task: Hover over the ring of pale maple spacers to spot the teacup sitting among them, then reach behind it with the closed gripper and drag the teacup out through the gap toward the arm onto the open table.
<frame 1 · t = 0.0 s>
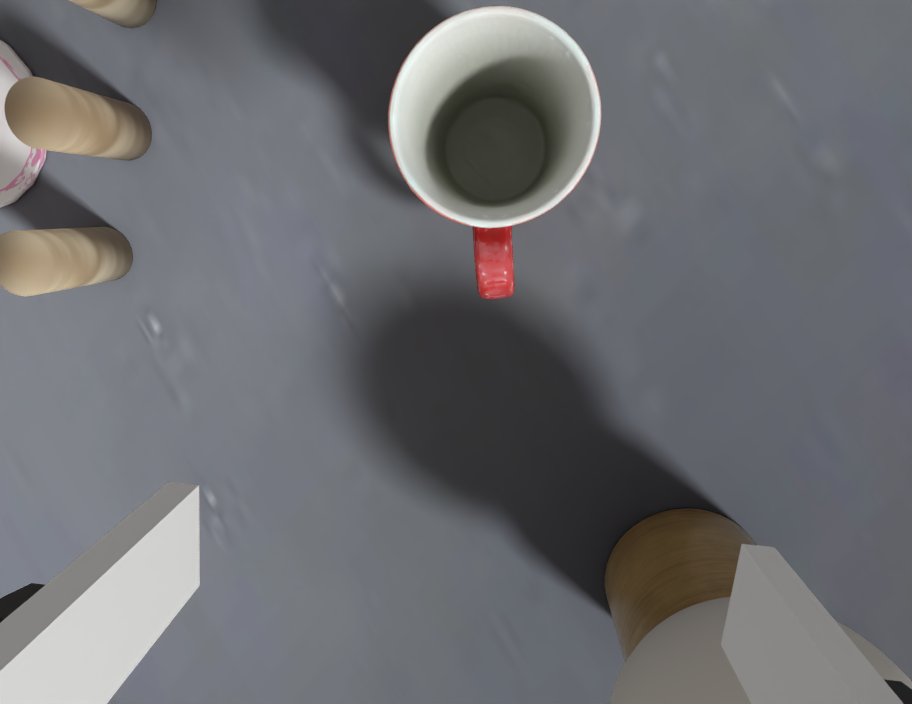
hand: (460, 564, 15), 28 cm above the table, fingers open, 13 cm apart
mug: (493, 179, 40), on the table
lamp: (666, 556, 46), on the table
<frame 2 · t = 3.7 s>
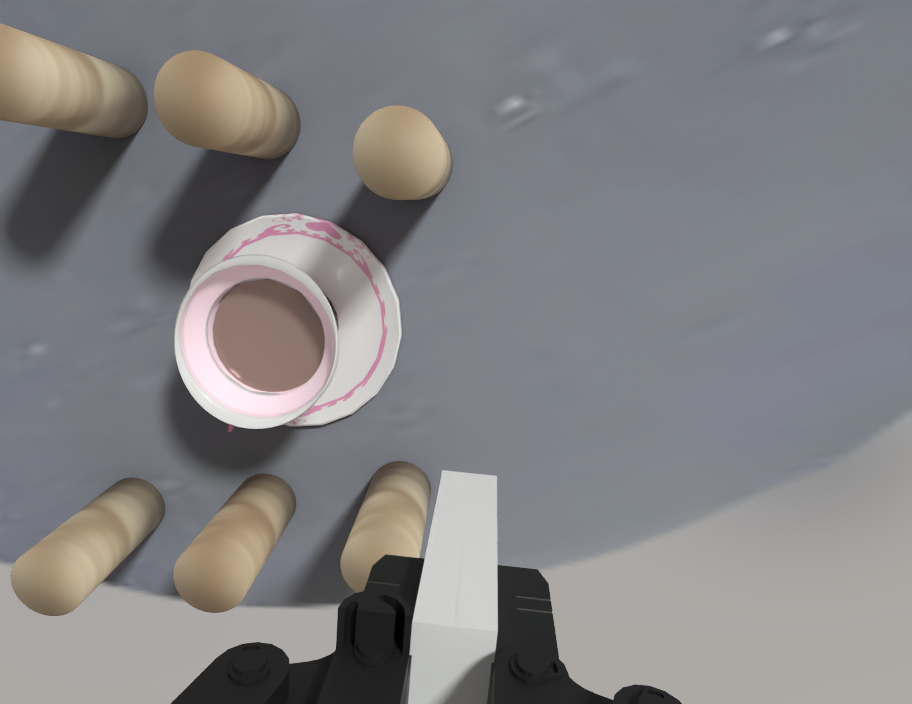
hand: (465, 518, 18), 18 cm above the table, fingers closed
teacup: (297, 321, 36), on the table
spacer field: (266, 330, 35), on the table
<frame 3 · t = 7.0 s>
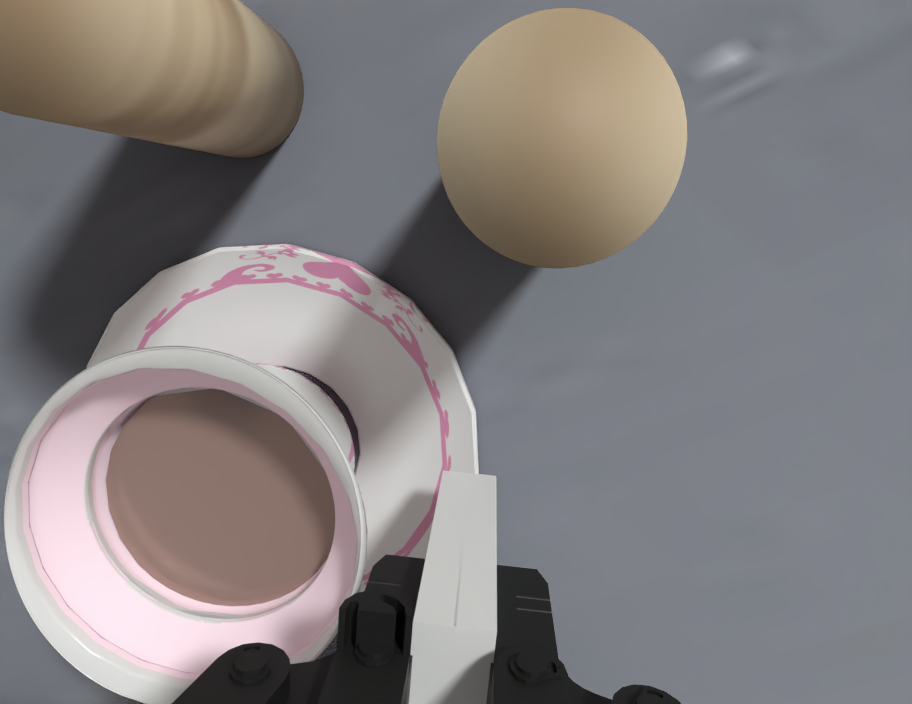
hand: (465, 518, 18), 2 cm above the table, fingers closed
teacup: (284, 439, 19), on the table, touching gripper
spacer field: (232, 470, 19), on the table
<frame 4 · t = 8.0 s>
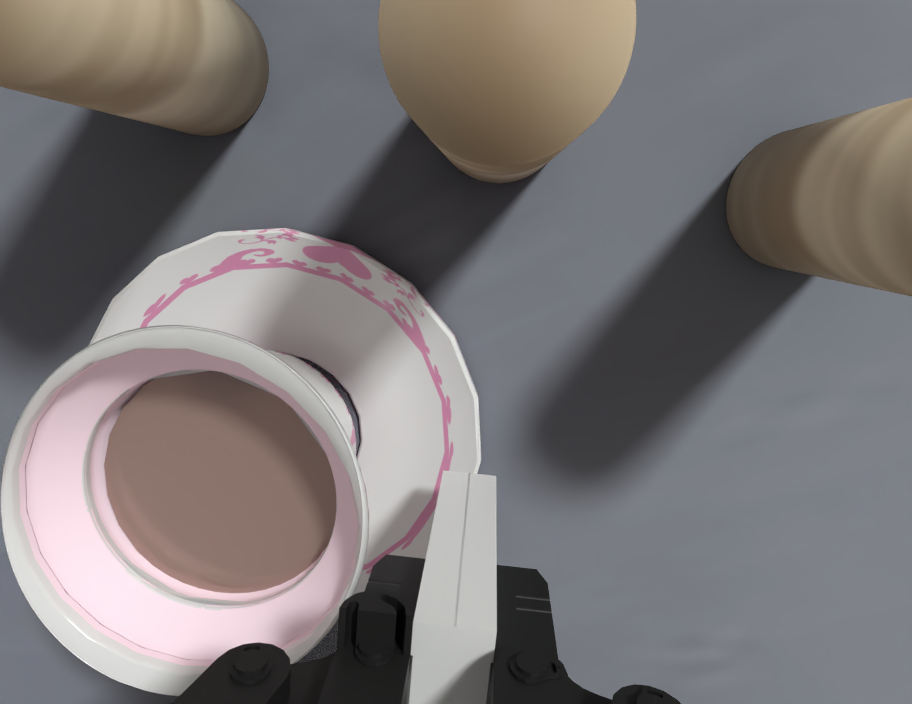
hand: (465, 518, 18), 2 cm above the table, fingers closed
teacup: (285, 427, 19), on the table, touching gripper
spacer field: (459, 496, 19), on the table
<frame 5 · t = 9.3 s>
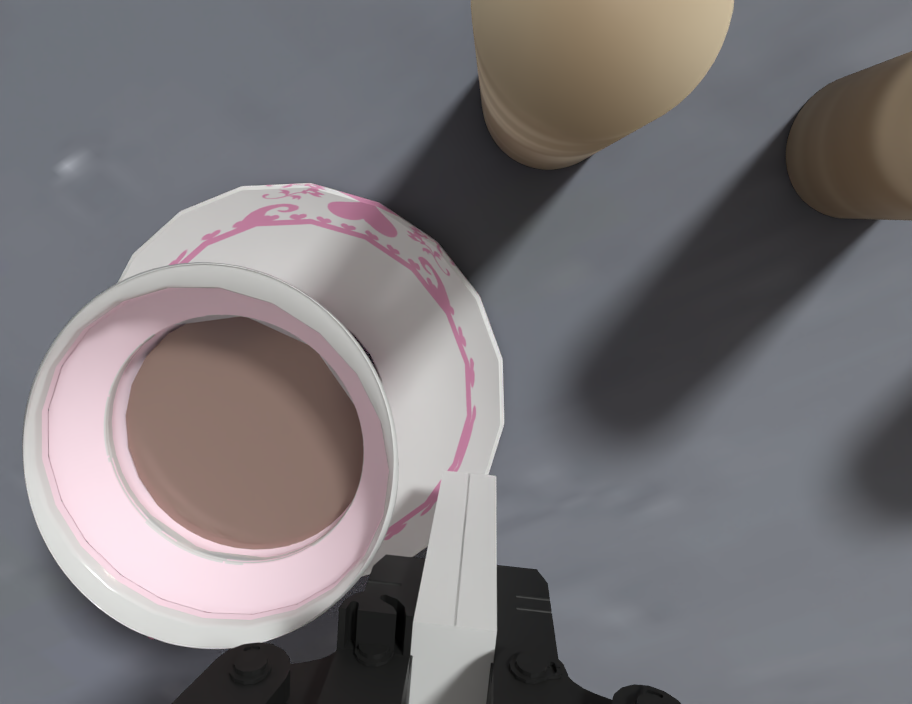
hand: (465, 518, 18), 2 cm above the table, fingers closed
teacup: (304, 389, 19), on the table, touching gripper
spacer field: (769, 533, 19), on the table
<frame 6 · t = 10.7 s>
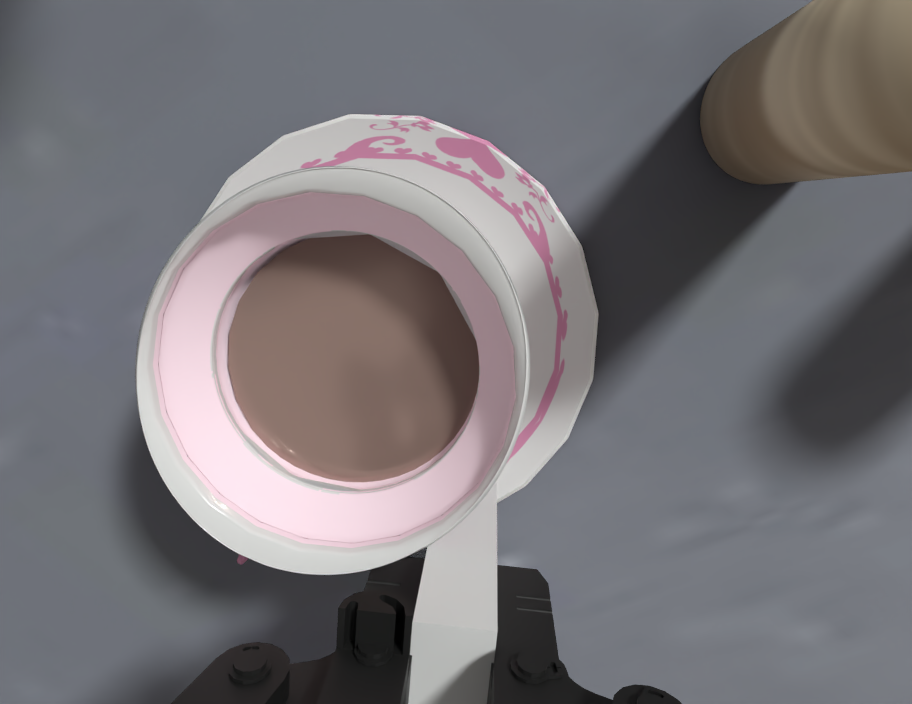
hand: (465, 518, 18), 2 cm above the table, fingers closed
teacup: (388, 332, 19), on the table
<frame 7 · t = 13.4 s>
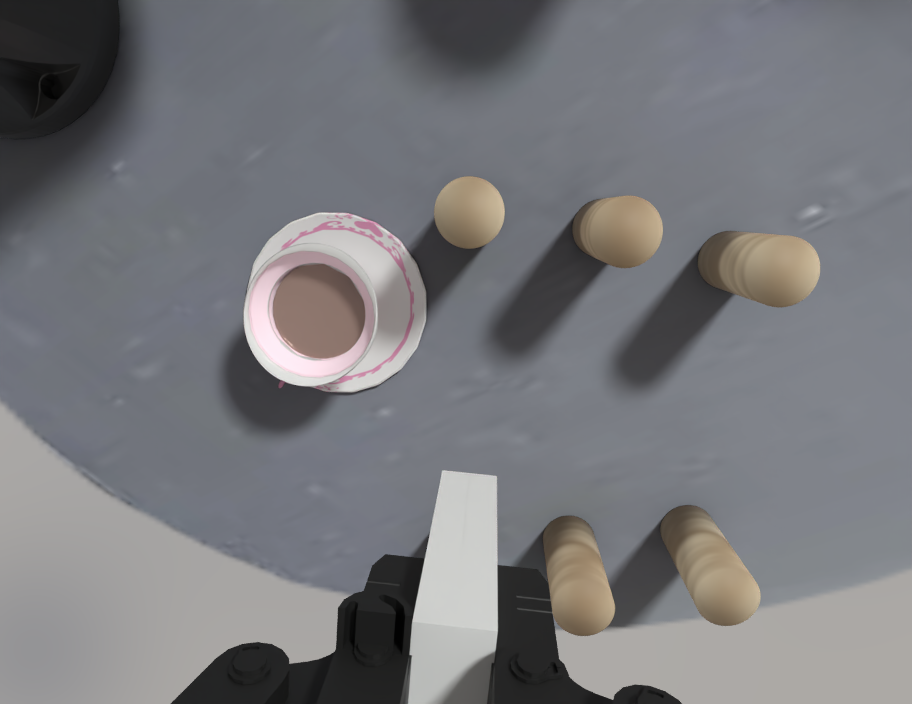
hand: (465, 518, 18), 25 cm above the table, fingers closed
teacup: (339, 303, 42), on the table
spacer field: (583, 396, 42), on the table
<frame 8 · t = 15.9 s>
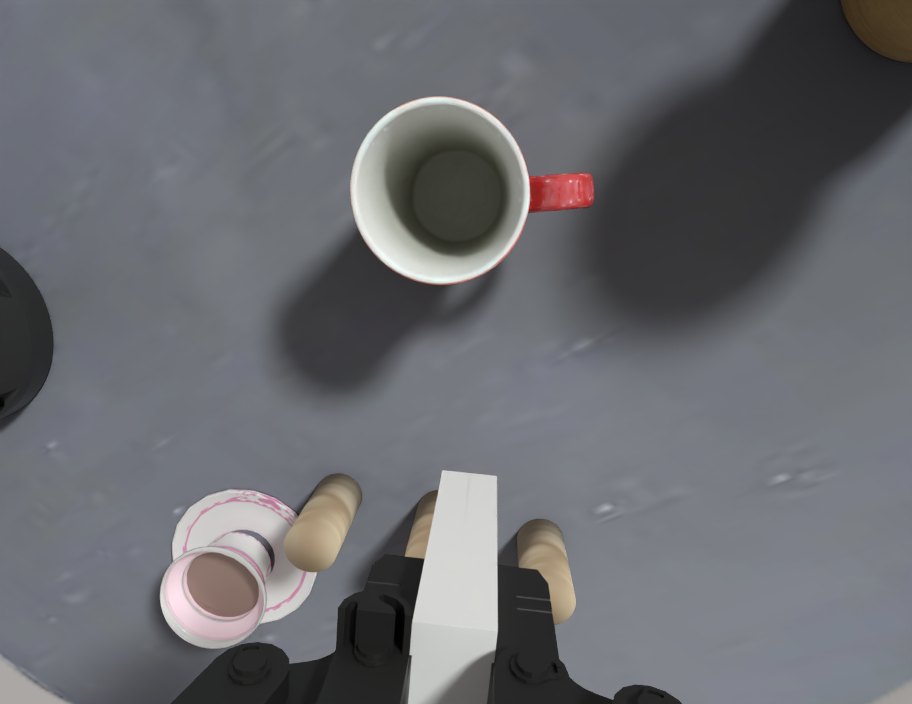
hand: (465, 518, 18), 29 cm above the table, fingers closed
teacup: (247, 554, 52), on the table
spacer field: (429, 633, 52), on the table
mug: (481, 198, 44), on the table
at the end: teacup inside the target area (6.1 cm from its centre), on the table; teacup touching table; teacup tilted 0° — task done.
